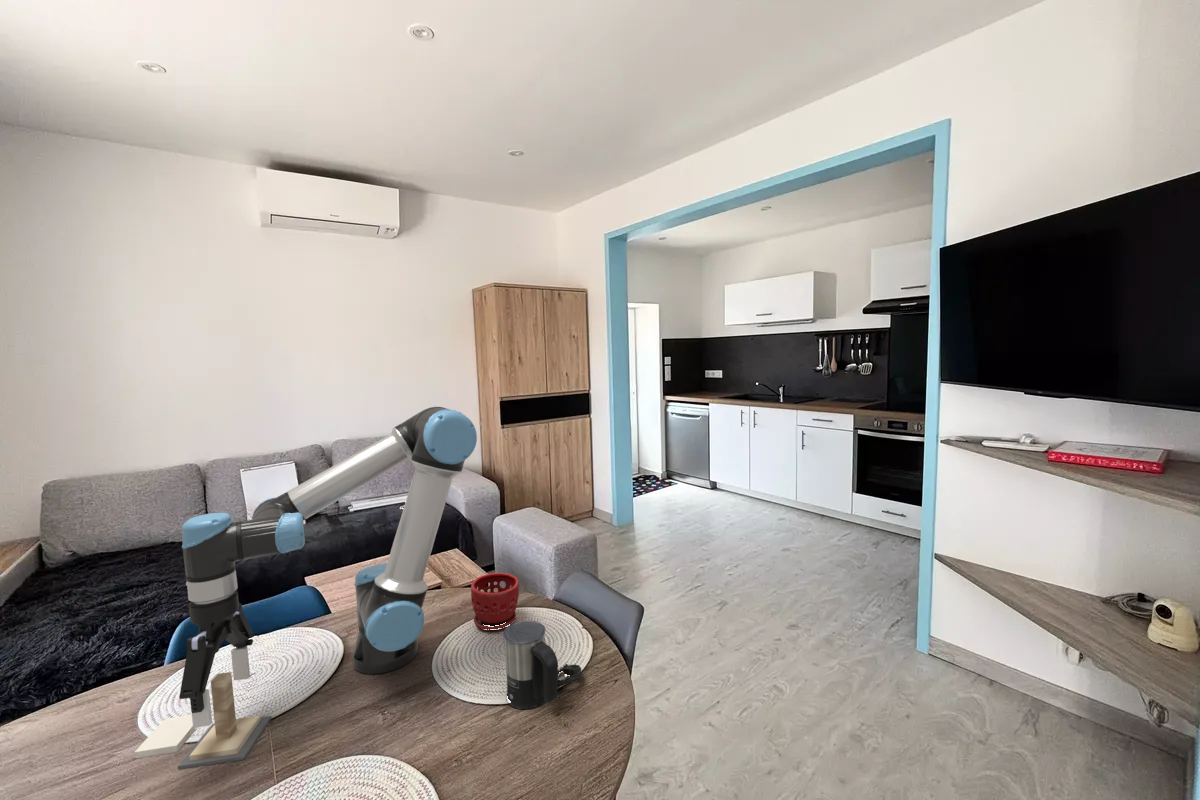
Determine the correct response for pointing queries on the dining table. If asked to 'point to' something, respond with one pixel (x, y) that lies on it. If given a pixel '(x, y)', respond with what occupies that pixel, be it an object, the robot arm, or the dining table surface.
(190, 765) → the rest mat
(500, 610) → the plant pot
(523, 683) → the milk frother
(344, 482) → the robot arm
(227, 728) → the block tower on stand
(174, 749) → the tile
